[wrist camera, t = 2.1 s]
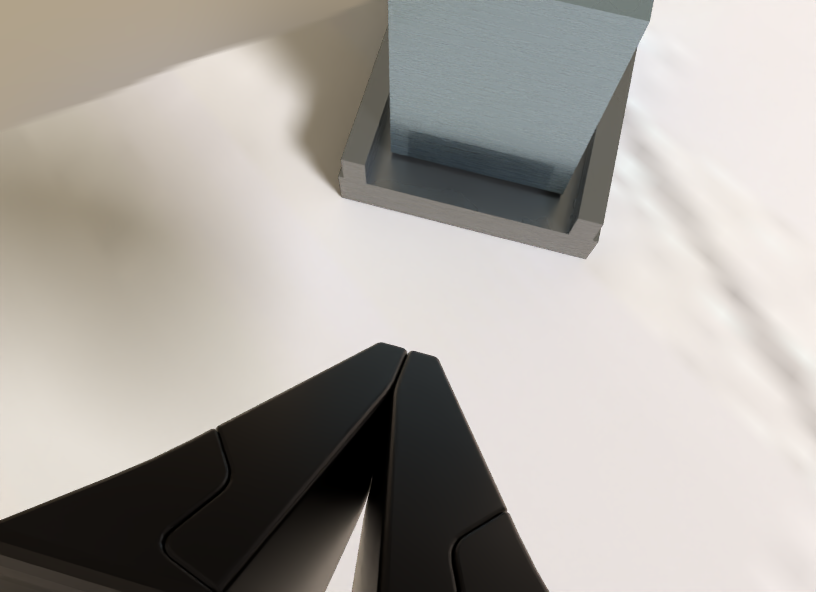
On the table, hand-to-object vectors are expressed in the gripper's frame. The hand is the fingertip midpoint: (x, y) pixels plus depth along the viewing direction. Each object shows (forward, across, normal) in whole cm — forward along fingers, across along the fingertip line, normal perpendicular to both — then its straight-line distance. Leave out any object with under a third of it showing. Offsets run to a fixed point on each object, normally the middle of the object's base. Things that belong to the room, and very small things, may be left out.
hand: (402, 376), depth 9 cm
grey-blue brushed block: (+16, 0, -1) cm, 16 cm away
